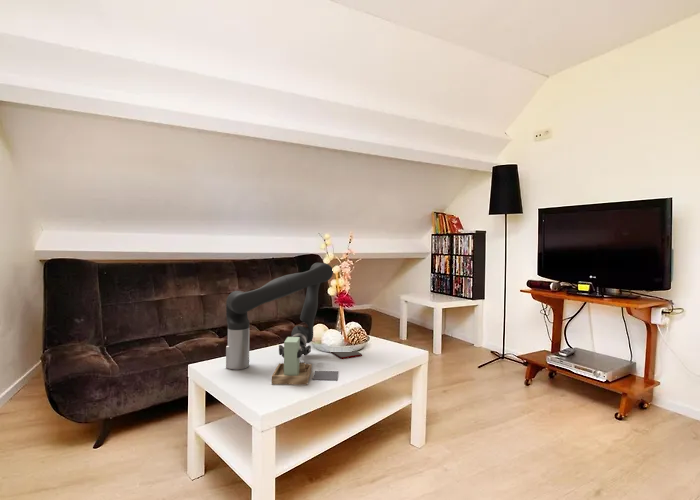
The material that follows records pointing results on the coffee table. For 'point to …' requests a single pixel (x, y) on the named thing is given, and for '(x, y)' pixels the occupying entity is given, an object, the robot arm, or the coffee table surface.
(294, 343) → the green rectangular block
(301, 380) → the wooden tray
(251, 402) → the coffee table surface
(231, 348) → the robot arm
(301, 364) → the offcut upper
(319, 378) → the mat
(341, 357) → the smartphone
